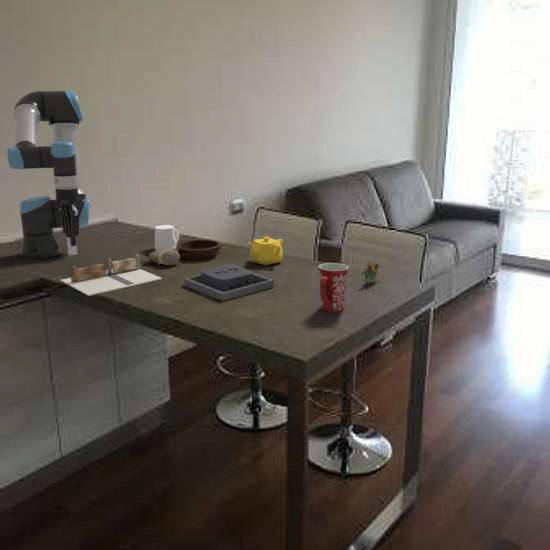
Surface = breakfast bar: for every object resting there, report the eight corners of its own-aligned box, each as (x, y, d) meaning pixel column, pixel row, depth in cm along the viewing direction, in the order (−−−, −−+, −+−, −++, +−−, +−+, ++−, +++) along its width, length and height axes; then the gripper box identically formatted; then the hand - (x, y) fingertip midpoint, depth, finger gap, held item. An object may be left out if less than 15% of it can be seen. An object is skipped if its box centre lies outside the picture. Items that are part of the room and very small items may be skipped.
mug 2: (325, 301, 195) (326, 261, 191) (351, 306, 190) (353, 265, 186) (306, 313, 184) (307, 270, 180) (333, 318, 180) (335, 275, 176)
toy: (141, 264, 238) (166, 268, 228) (140, 249, 237) (165, 252, 227) (161, 260, 245) (186, 263, 236) (160, 245, 244) (185, 248, 234)
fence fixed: (109, 276, 219) (108, 259, 217) (107, 275, 220) (105, 258, 218) (140, 270, 227) (139, 253, 225) (138, 269, 228) (137, 252, 227)
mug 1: (161, 230, 250) (149, 227, 255) (162, 252, 252) (150, 248, 258) (184, 225, 258) (172, 222, 263) (184, 246, 261) (173, 243, 266)
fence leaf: (104, 273, 219) (103, 260, 218) (107, 275, 218) (106, 261, 217) (70, 281, 211) (69, 266, 210) (72, 282, 210) (71, 267, 208)
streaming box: (232, 277, 220) (231, 263, 219) (256, 286, 209) (256, 272, 208) (198, 284, 211) (197, 270, 210) (221, 295, 201) (221, 280, 199)
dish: (233, 255, 249) (233, 243, 247) (189, 265, 235) (189, 252, 233) (208, 247, 261) (208, 236, 260) (164, 256, 247) (164, 244, 245)
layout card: (60, 280, 214) (60, 279, 214) (131, 266, 232) (131, 264, 232) (88, 296, 198) (88, 294, 198) (162, 279, 216) (162, 277, 216)
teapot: (280, 268, 230) (280, 242, 227) (247, 267, 232) (246, 241, 229) (284, 259, 243) (284, 234, 240) (252, 257, 245) (252, 232, 242)
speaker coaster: (184, 285, 210) (183, 278, 209) (234, 273, 224) (233, 266, 223) (222, 301, 194) (222, 293, 194) (273, 287, 208) (273, 280, 208)
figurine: (381, 280, 216) (382, 258, 214) (363, 288, 208) (365, 265, 205) (373, 278, 218) (375, 256, 216) (356, 286, 209) (357, 264, 207)
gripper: (48, 186, 210) (55, 252, 217) (64, 190, 201) (70, 259, 207) (69, 184, 215) (75, 249, 222) (85, 188, 206) (91, 256, 212)
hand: (72, 254), depth 215 cm, fingers closed
